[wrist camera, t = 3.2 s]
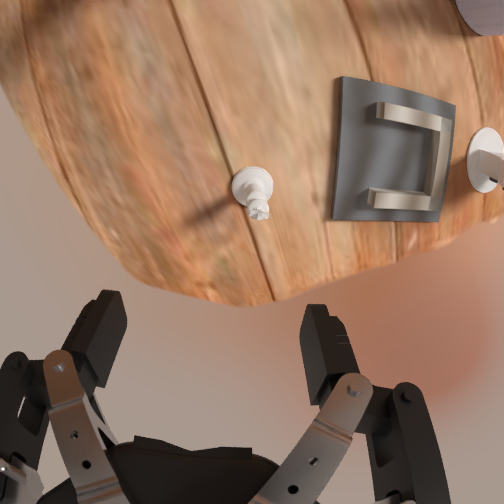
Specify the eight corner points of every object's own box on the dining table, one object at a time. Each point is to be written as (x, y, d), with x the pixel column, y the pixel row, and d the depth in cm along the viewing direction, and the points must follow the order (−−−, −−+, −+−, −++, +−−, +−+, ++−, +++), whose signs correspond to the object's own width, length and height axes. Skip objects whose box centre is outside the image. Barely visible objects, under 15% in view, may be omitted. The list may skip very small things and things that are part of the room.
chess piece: (236, 162, 31) (238, 184, 23) (277, 171, 32) (295, 197, 24) (227, 201, 34) (226, 237, 25) (267, 209, 34) (279, 248, 26)
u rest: (330, 217, 35) (338, 226, 33) (340, 76, 27) (349, 74, 24) (434, 219, 36) (445, 227, 34) (451, 105, 28) (464, 107, 25)
